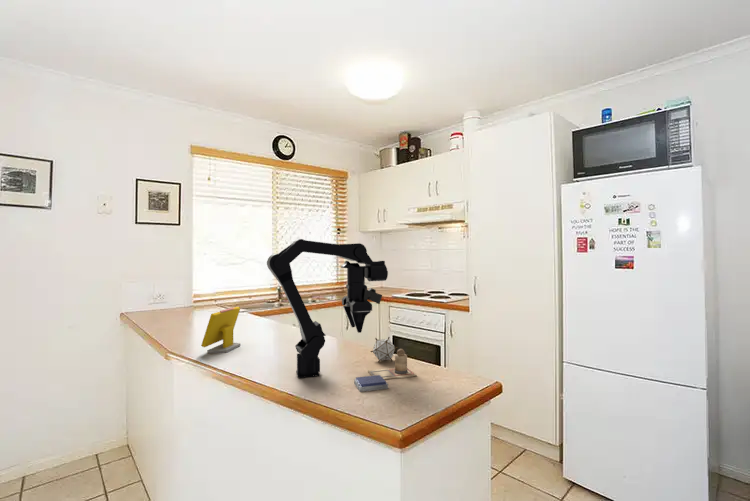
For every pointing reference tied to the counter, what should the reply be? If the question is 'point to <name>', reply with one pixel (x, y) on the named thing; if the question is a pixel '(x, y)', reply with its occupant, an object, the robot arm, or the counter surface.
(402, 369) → the stamp
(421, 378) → the counter surface
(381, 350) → the game die
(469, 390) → the counter surface
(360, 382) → the ink pad
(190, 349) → the counter surface
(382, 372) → the card sheet
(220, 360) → the counter surface
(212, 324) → the toy computer monitor
